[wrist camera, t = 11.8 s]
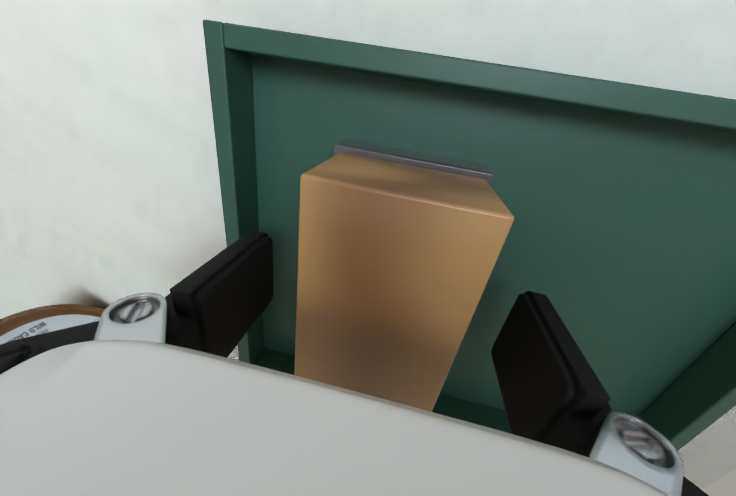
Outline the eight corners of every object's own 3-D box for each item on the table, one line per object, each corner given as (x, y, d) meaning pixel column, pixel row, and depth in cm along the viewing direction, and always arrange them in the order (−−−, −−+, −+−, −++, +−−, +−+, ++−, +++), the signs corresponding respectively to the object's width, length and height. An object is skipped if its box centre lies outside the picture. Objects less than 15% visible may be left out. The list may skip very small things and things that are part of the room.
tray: (917, 138, 8) (1066, 148, 6) (613, 436, 15) (639, 482, 13) (243, 34, 10) (201, 19, 8) (260, 344, 17) (240, 373, 15)
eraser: (486, 164, 10) (531, 209, 6) (419, 361, 14) (416, 464, 10) (345, 138, 10) (290, 162, 6) (325, 337, 15) (286, 427, 11)
